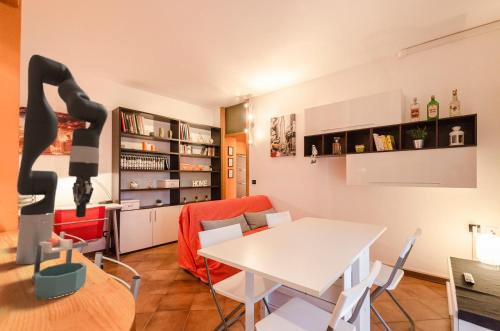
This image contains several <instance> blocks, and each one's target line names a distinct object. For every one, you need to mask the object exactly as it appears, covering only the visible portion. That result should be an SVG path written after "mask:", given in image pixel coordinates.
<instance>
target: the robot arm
mask: <svg viewBox="0 0 500 331" xmlns="http://www.w3.org/2000/svg"><path fill="white" fill-rule="evenodd" d="M44 84H45V85H49V86H52V87H57V93H58V96H59V97H60V99H61V100H62V101H63V103H64V104H65V107H66V112H67V114H68V116H69V117H71V119H74V120H76V121H81V122H85V123H89V125H88V127H78V128H75V129H73V131H72V137H71V148H70V153H69V163H68V171H67V172H68V173H67V174H68V177H73V178H76V179H75V182H73V185H72V187H71V188H72V195H73V196H72V197H73V202H74V203H75V217H76V218H79V219H80V218H85V217H86V212H87V206H88V204H89V203H90V201H91V199H92V195H93V193H94V192H93V191H94V187H93V183H92V179H91V178H97V177H98V176H99V167H100V166H99V164H100V147H99V146H100V137H101V135H102V133H103V132H102V131H103V128H104V126H105V124H106V122H107V119H108V116H109V115H108V114H109V113H108V110H107V107H106V106H105V105H103V104H102V103H99V102H96V101H92V100H91V98H90V96H89V95H88V93H86V92H85V91H84V89H83V88H82V87H80V85H79V84H78V83H77V81H76V79H75V77H74V76H73V74H72V72H71V70H70V69H69V67H68V66H66V64H63V63H61V62H59V61H57V60H54V59H51V58H48V57H45V56H44V55H40V54H32V56H31V57H30V59H29V60H28V67H27V102H26V110H25V116H24V124H23V140H22V141H23V143H22V154H21V159H20V160H21V161H20V164H19V165H20V166H19V171H18V177H17V183H16V191H17V193H18V195H19V196H43V198H41V199H40V200H38V201H36V202H35V201H34V202H32V203H29V204H25V205H23V206H22V207H20V215H19V222H18V223H19V224H18V235H17V244H16V245H17V246H16V257H15V264H16V265H31V264H32V265H33V264H34V263H35V252H36V246H38V245H39V244H40V242H45V241H47V240H48V239H50V238H53V228H54V217H55V206H56V205H55V201H56V195H57V187H58V174H57V172H55V171H53V170H33V169H32V168H33V166H34V164H35V163H36V161H37V160H38V158H39V157H40V156H41V155H42V154H43V153H44V152H45V151H46V150H47V149H48V148H49V147H50V146H51V145H53V144H54V143H55V141H56V139H57V138H58V133H59V132H58V130H59V119H58V116H57V114H56V112H55V111H54V110H53V107H52V106H51V104H50V103H49V101H48V100H47V97H46V95H45V90H44ZM41 259H42V252H41ZM41 262H43V261H40V263H41Z"/></svg>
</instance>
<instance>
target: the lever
mask: <svg viewBox="0 0 500 331" xmlns="http://www.w3.org/2000/svg"><path fill="white" fill-rule="evenodd" d="M57 241H58V243H57V245H56V246H55V247H53V248H52V242H46V241H45V242H40V244H39V245H41V246H42V249H41V252H42V259H41V261H42V262H48V261H52V260H56V259H60V258H61V252H64V251H67V250H70V249H72V250H73V249H78V248H84V247H89V241H80V242H75V243H73V244H72V241H73V239H71V238H70V239H65V238H63V239H60V238H59V239H57Z"/></svg>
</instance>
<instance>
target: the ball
mask: <svg viewBox="0 0 500 331" xmlns="http://www.w3.org/2000/svg"><path fill="white" fill-rule="evenodd" d="M57 240H58V239H57V238H54V237H52V238H50V239H48V240H47V241H46V242H52V248H53V247H55V246H56V245H57V243H58V241H57Z"/></svg>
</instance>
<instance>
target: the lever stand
mask: <svg viewBox="0 0 500 331" xmlns="http://www.w3.org/2000/svg"><path fill="white" fill-rule="evenodd" d="M73 242H74V241H73V240H72V244H74V243H73ZM41 249H42V246H41V245H38V246H36V252H35V263H33V264H34V266H33V275H31V281H32V284H33V286H35V275H36V272H38V271H40V270H41V262H40V261H41ZM72 256H73V249H70V250H66V253H65V263H72V258H73V257H72Z"/></svg>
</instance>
